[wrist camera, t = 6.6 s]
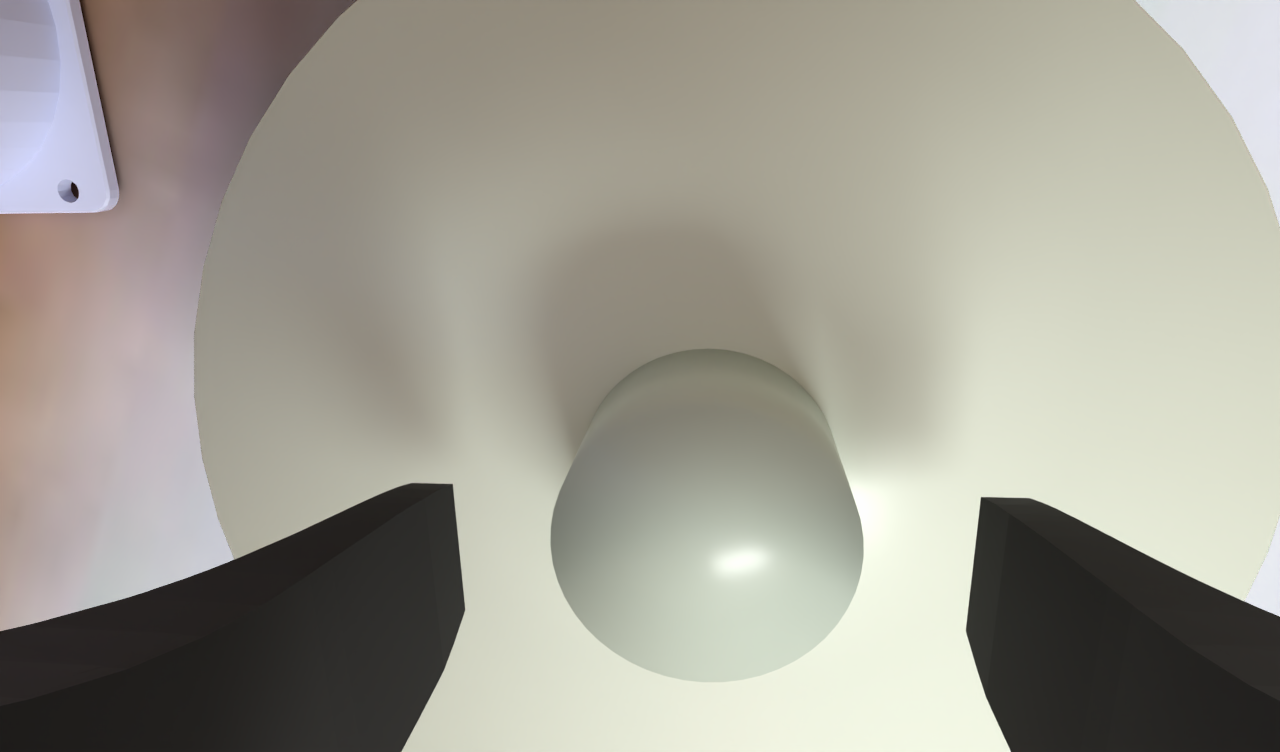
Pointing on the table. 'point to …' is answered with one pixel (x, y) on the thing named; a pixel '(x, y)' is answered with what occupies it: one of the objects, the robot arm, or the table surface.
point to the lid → (742, 341)
